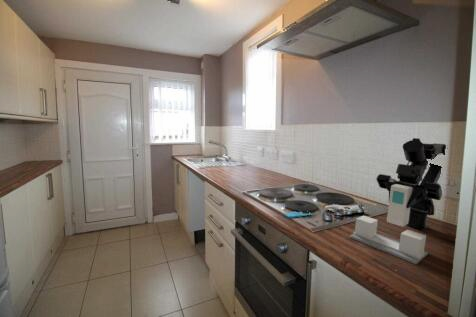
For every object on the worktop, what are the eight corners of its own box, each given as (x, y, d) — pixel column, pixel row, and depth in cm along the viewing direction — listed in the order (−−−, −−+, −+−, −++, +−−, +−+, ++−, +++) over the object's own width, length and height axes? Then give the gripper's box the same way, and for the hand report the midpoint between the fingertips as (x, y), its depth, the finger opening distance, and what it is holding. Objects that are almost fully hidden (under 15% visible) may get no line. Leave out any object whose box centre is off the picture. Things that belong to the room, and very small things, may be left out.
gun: (354, 200, 117) (370, 207, 108) (353, 207, 118) (369, 214, 109) (321, 204, 113) (335, 212, 103) (321, 211, 113) (335, 220, 104)
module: (392, 219, 87) (396, 184, 85) (408, 223, 83) (413, 187, 81) (386, 221, 84) (390, 185, 82) (402, 226, 80) (407, 189, 78)
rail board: (363, 230, 91) (365, 213, 90) (427, 254, 75) (430, 234, 74) (349, 237, 85) (351, 219, 84) (416, 264, 69) (419, 242, 68)
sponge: (281, 212, 106) (288, 215, 101) (304, 209, 110) (312, 212, 105) (281, 215, 106) (288, 219, 101) (304, 213, 110) (312, 216, 105)
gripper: (381, 152, 90) (363, 185, 85) (445, 159, 75) (428, 199, 70) (388, 171, 96) (371, 202, 91) (448, 181, 81) (433, 219, 76)
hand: (398, 205), depth 82 cm, fingers closed on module, 5 cm apart
